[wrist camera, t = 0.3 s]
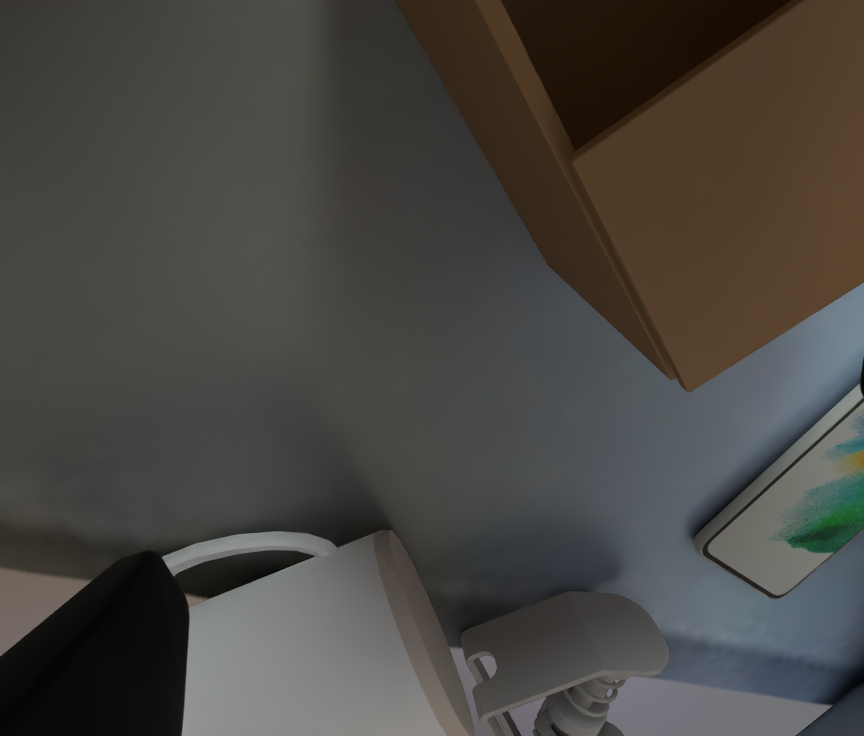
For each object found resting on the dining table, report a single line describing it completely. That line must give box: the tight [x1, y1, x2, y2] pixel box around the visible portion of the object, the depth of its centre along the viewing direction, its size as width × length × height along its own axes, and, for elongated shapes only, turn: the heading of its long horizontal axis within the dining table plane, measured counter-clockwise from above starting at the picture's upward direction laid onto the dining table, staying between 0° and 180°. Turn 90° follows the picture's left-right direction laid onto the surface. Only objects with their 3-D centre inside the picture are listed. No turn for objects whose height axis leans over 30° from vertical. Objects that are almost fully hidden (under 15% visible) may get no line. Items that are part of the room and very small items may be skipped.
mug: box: [162, 530, 474, 736], centre depth 24 cm, size 11×9×10 cm
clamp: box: [460, 591, 669, 736], centre depth 32 cm, size 4×10×15 cm
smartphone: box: [693, 383, 864, 599], centre depth 30 cm, size 7×1×15 cm
